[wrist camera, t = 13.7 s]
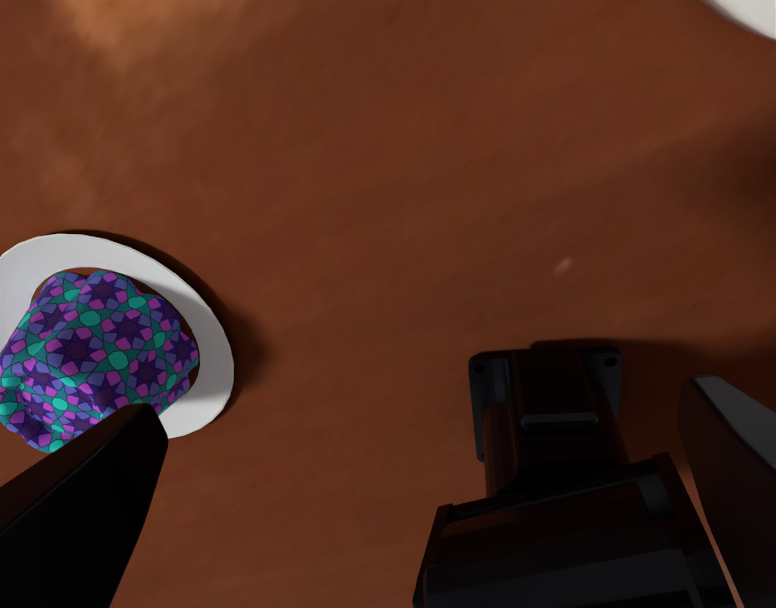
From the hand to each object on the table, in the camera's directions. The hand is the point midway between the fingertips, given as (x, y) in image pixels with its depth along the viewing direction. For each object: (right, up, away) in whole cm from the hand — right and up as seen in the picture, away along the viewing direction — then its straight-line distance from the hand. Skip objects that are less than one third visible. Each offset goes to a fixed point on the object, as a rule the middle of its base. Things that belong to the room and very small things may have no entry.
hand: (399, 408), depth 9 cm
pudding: (-13, 0, +18) cm, 22 cm away
